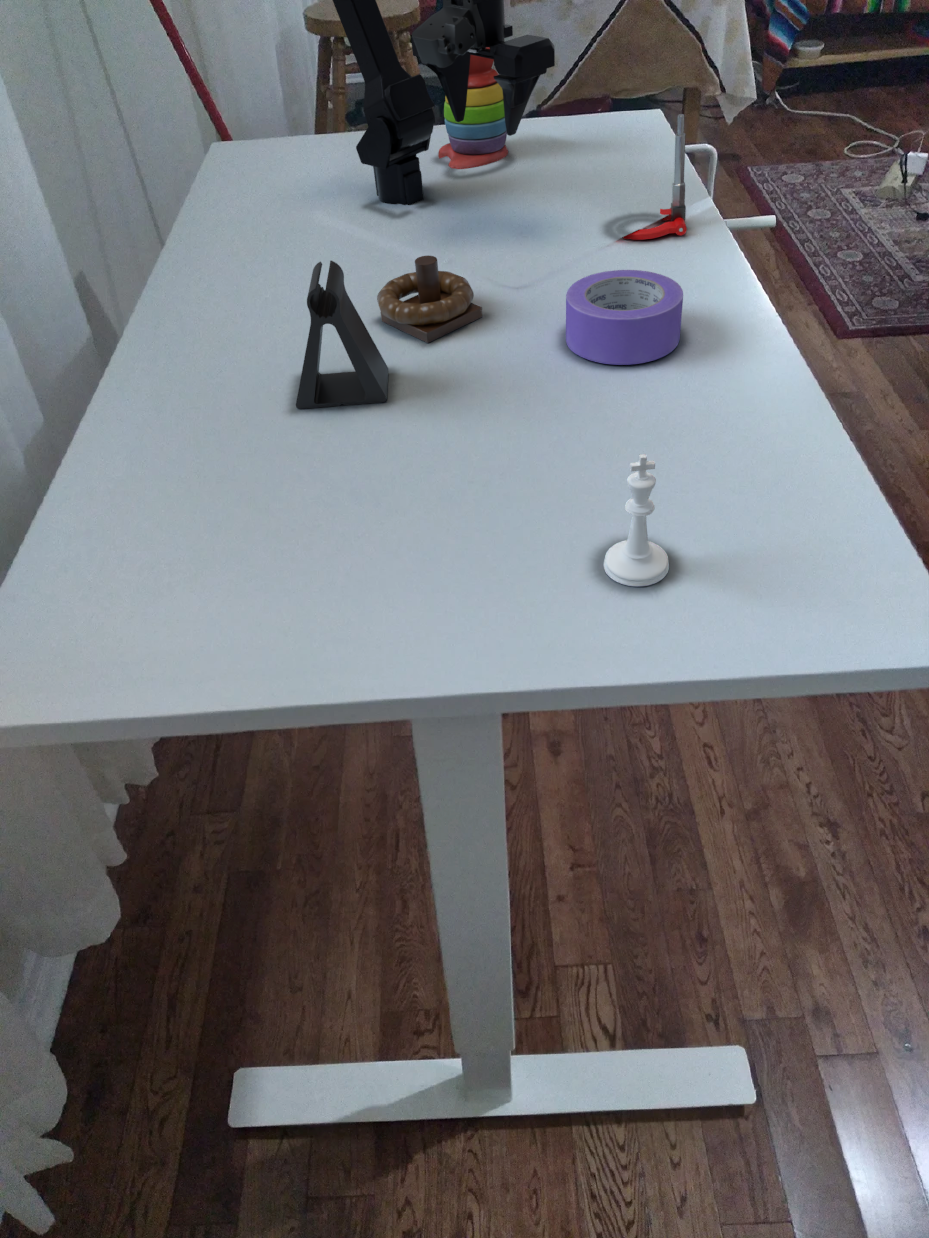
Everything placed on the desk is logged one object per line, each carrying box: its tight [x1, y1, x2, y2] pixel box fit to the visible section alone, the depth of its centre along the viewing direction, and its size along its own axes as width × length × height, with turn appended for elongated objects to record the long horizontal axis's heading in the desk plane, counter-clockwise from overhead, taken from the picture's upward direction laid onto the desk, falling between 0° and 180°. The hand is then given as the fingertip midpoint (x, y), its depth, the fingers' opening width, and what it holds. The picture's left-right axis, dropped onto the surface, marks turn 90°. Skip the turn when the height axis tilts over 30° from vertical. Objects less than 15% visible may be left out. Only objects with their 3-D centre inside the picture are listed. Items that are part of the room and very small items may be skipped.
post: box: [380, 255, 483, 344], centre depth 105 cm, size 8×8×7 cm
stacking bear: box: [437, 47, 509, 170], centre depth 138 cm, size 11×10×18 cm
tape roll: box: [565, 269, 684, 366], centre depth 99 cm, size 12×12×5 cm
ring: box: [376, 270, 475, 325], centre depth 106 cm, size 10×10×2 cm
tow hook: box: [621, 113, 688, 241], centre depth 117 cm, size 8×13×9 cm
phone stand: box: [295, 260, 389, 410], centre depth 93 cm, size 9×6×12 cm, turn 91°
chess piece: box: [603, 453, 670, 587], centre depth 71 cm, size 5×5×10 cm
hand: (485, 128), depth 117 cm, fingers open, 9 cm apart
